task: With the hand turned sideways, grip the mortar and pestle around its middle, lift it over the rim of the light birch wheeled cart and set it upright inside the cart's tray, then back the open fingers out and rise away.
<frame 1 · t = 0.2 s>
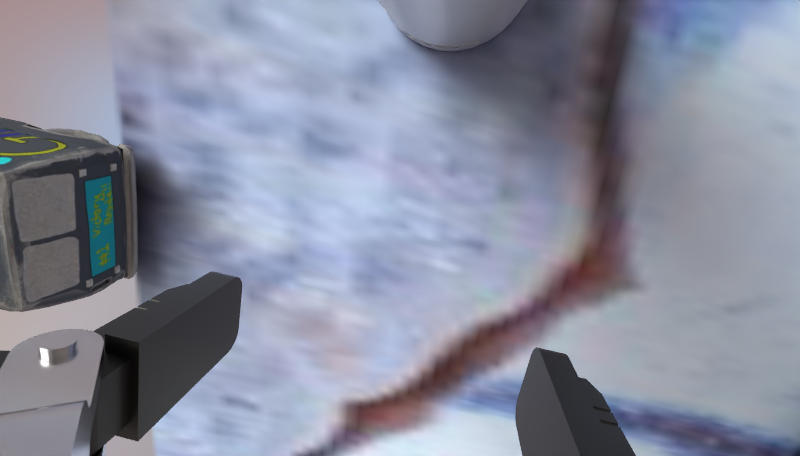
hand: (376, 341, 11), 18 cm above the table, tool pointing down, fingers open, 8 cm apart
toy van: (10, 176, 32), on the table
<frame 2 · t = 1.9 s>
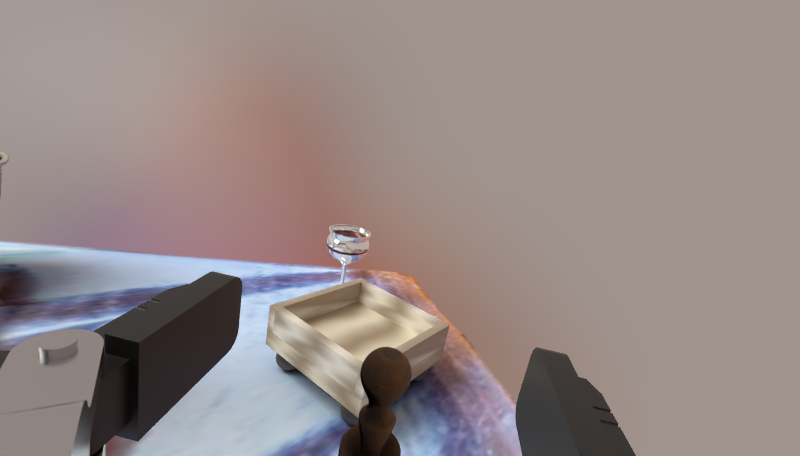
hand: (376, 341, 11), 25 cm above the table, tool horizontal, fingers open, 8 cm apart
wineglass: (339, 299, 67), on the table
cart: (352, 373, 49), on the table
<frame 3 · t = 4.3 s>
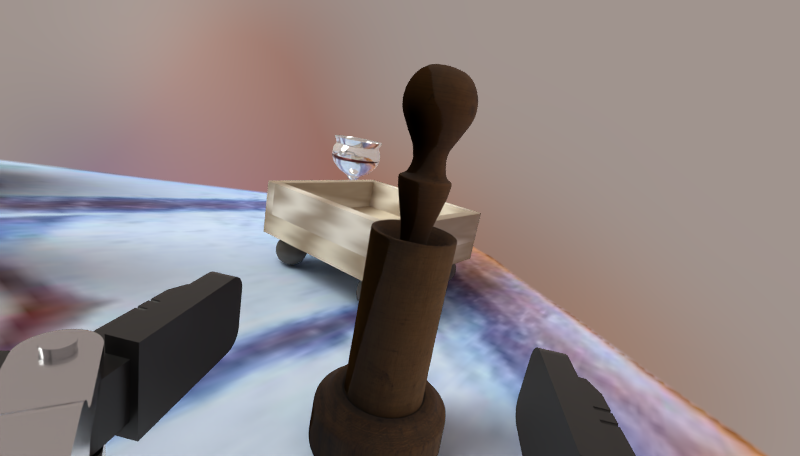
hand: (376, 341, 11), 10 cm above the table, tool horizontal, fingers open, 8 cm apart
wineglass: (346, 222, 59), on the table
mortar and pestle: (373, 440, 21), on the table
cart: (366, 272, 41), on the table
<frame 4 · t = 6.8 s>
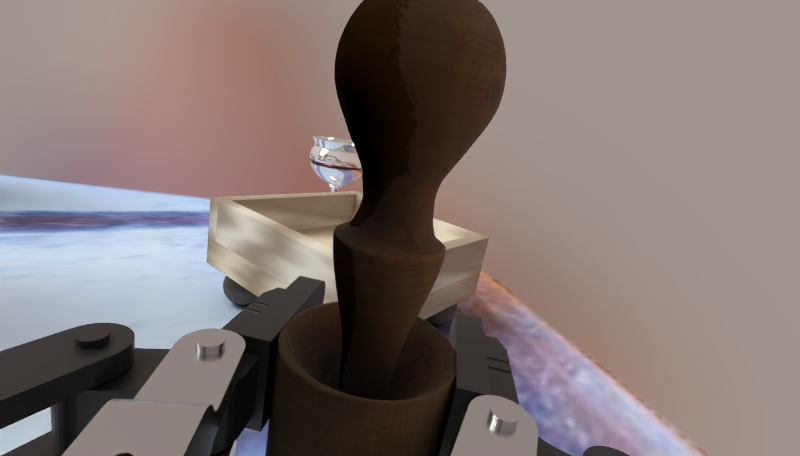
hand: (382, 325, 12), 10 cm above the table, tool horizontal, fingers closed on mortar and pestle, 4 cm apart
wineglass: (327, 238, 50), on the table
cart: (342, 312, 32), on the table
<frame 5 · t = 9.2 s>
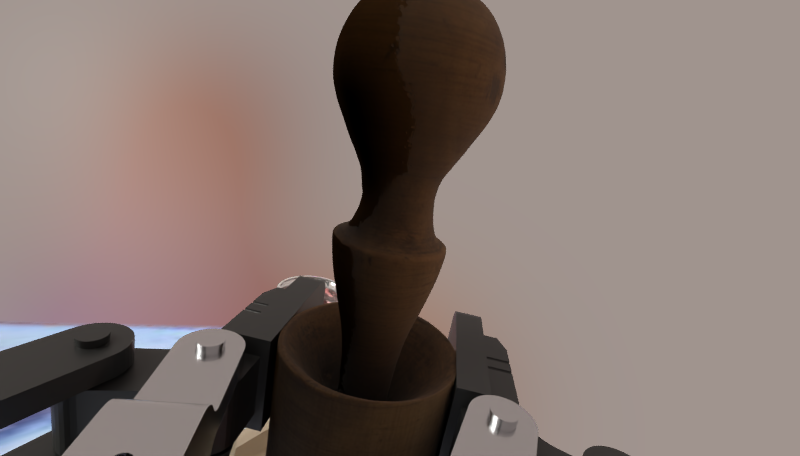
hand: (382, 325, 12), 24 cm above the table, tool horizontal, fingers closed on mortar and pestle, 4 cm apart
wineglass: (298, 395, 42), on the table
when the fingers open (16 cm above the table, at t = 11.6 s): mortar and pestle drops 1 cm, resting on cart.
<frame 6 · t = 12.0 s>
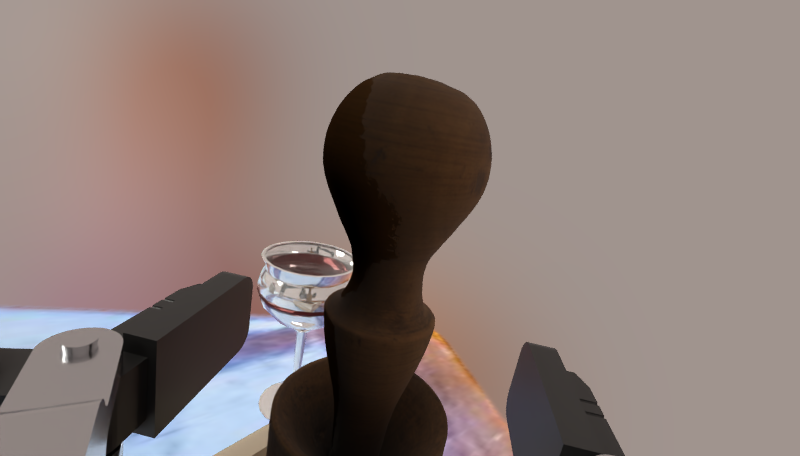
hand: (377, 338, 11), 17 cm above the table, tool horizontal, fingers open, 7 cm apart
wineglass: (292, 403, 31), on the table
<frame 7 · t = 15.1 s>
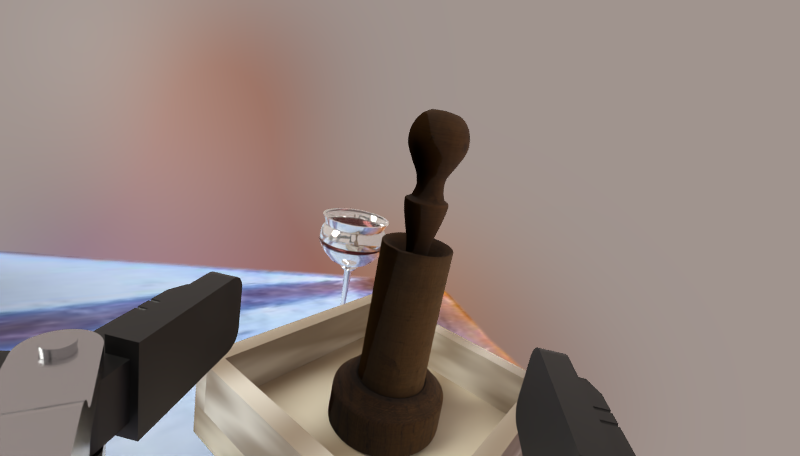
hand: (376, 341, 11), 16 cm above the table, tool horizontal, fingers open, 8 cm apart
wineglass: (339, 324, 44), on the table
mortar and pestle: (382, 418, 24), point 5 cm above the table, touching cart
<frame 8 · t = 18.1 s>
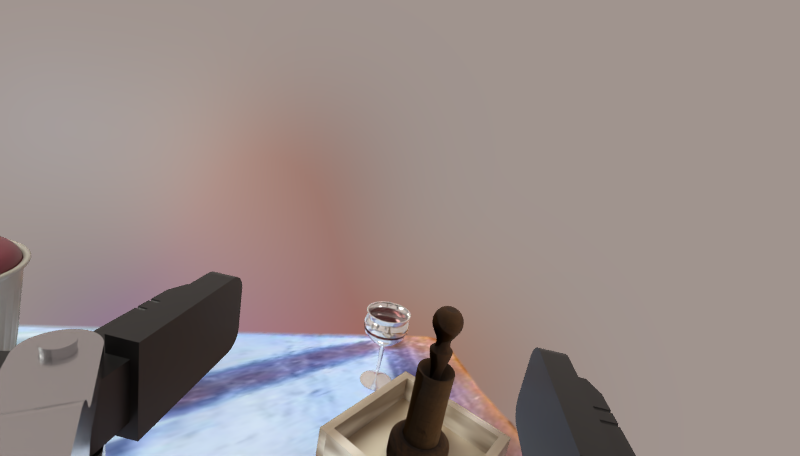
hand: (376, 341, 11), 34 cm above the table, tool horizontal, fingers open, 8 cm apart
wineglass: (375, 381, 63), on the table
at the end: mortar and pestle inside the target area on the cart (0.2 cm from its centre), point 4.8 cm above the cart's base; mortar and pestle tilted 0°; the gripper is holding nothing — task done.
